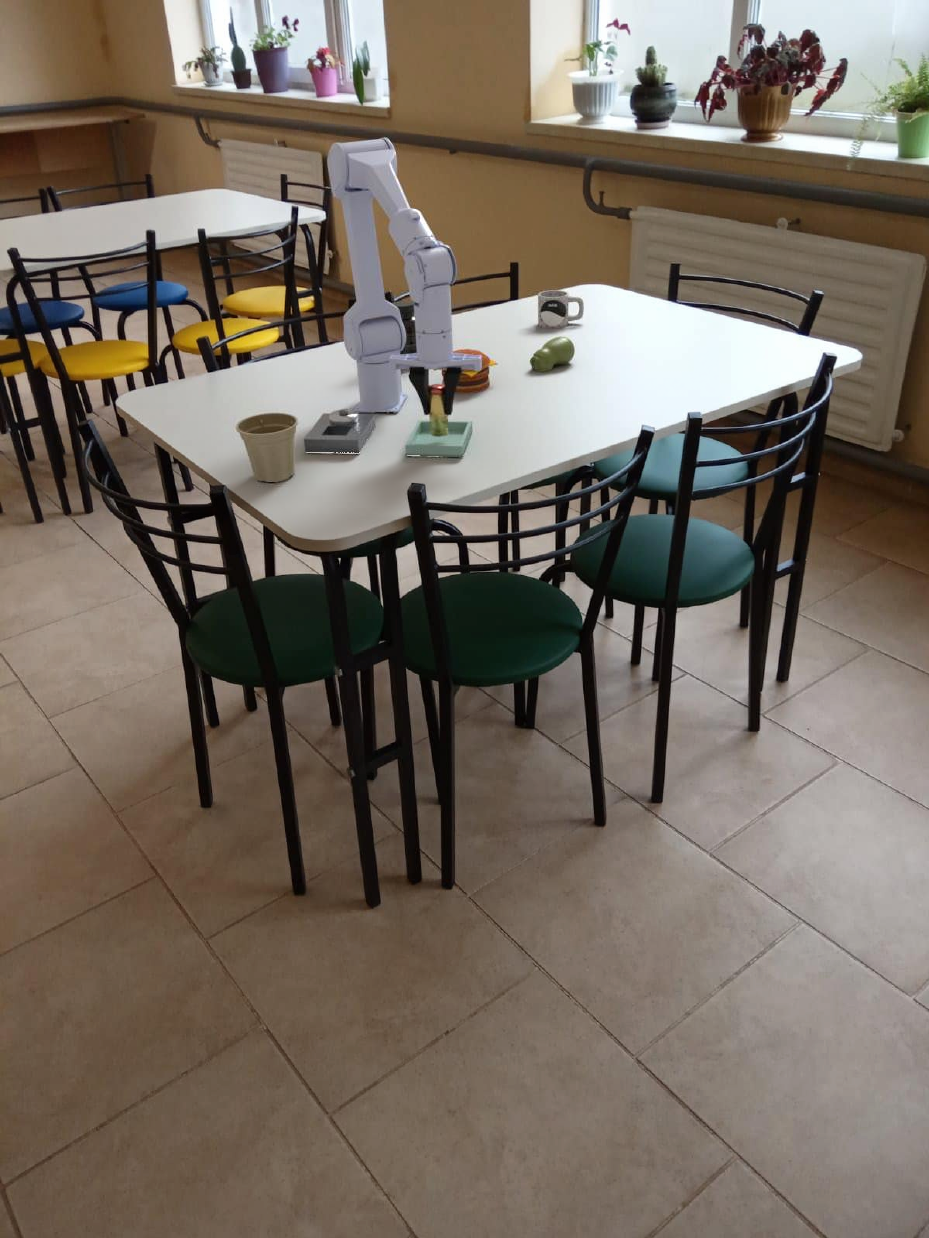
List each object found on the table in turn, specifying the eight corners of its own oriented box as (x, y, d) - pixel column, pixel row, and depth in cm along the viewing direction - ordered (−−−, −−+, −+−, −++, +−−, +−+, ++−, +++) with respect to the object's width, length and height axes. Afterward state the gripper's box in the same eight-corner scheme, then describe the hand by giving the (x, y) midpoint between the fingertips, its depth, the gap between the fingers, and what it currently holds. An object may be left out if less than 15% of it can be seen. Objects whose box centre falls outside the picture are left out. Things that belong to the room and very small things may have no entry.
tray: (419, 431, 175) (418, 420, 174) (472, 432, 174) (472, 421, 173) (406, 457, 165) (405, 445, 164) (462, 458, 164) (462, 446, 163)
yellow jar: (432, 429, 170) (429, 383, 166) (449, 430, 169) (447, 384, 165) (428, 436, 167) (426, 390, 163) (447, 436, 167) (444, 390, 163)
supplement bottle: (426, 358, 210) (422, 298, 204) (421, 368, 205) (417, 307, 198) (393, 358, 211) (388, 299, 205) (387, 369, 205) (382, 308, 199)
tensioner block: (324, 427, 179) (322, 404, 176) (375, 428, 177) (373, 405, 175) (305, 453, 168) (302, 429, 166) (359, 454, 167) (356, 430, 165)
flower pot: (232, 477, 161) (223, 424, 157) (281, 459, 167) (274, 408, 162) (267, 493, 156) (259, 439, 151) (316, 474, 161) (310, 421, 157)
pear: (579, 335, 200) (542, 355, 196) (581, 361, 204) (545, 381, 199) (558, 330, 204) (522, 349, 200) (561, 355, 207) (525, 374, 203)
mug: (538, 329, 226) (538, 298, 222) (537, 321, 231) (537, 290, 228) (584, 327, 225) (585, 296, 222) (582, 319, 231) (583, 289, 227)
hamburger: (458, 375, 200) (456, 341, 197) (500, 382, 196) (499, 348, 192) (430, 389, 194) (428, 354, 190) (473, 397, 189) (472, 361, 186)
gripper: (382, 336, 157) (389, 421, 164) (476, 336, 155) (479, 422, 162) (392, 323, 163) (398, 406, 170) (482, 323, 161) (485, 407, 168)
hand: (438, 413), depth 167 cm, fingers closed on yellow jar, 3 cm apart
